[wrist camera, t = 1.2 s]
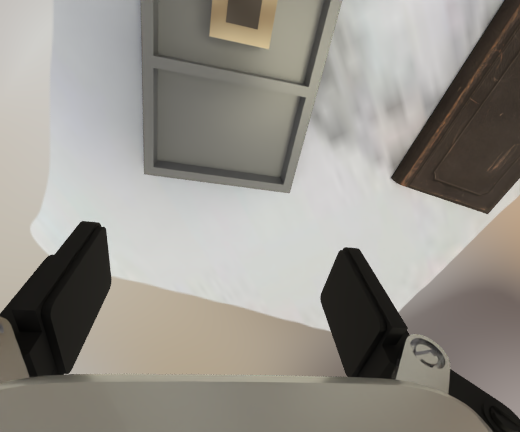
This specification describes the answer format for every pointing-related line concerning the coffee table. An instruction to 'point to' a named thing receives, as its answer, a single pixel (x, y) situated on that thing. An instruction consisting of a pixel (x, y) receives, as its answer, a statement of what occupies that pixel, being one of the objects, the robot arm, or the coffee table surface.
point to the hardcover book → (474, 125)
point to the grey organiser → (230, 93)
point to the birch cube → (243, 21)
